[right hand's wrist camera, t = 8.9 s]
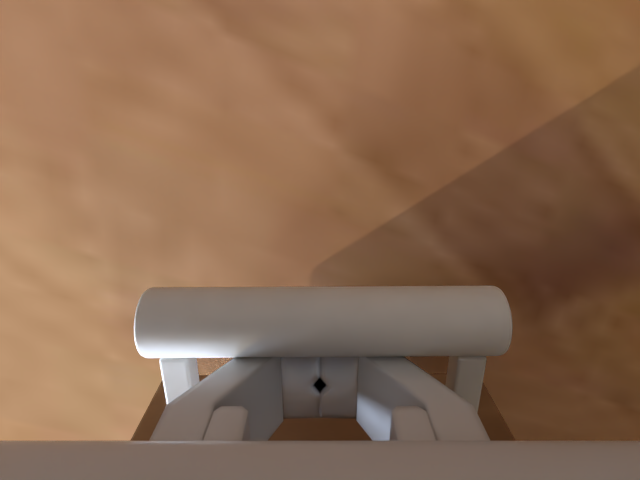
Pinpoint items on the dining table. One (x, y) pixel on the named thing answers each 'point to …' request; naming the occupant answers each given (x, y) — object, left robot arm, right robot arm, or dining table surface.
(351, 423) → the drawer
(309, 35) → the dining table surface
